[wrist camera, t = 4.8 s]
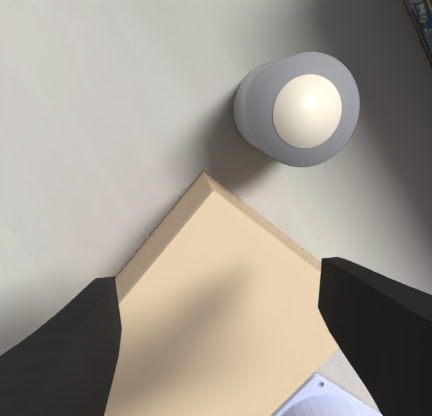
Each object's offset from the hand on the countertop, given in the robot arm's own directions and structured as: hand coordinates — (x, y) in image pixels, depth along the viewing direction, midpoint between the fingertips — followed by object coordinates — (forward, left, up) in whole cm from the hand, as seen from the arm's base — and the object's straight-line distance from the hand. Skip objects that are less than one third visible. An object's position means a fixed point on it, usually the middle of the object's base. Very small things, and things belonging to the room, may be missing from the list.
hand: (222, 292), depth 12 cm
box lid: (-5, +6, -6) cm, 9 cm away
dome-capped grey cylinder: (0, -7, -10) cm, 13 cm away
